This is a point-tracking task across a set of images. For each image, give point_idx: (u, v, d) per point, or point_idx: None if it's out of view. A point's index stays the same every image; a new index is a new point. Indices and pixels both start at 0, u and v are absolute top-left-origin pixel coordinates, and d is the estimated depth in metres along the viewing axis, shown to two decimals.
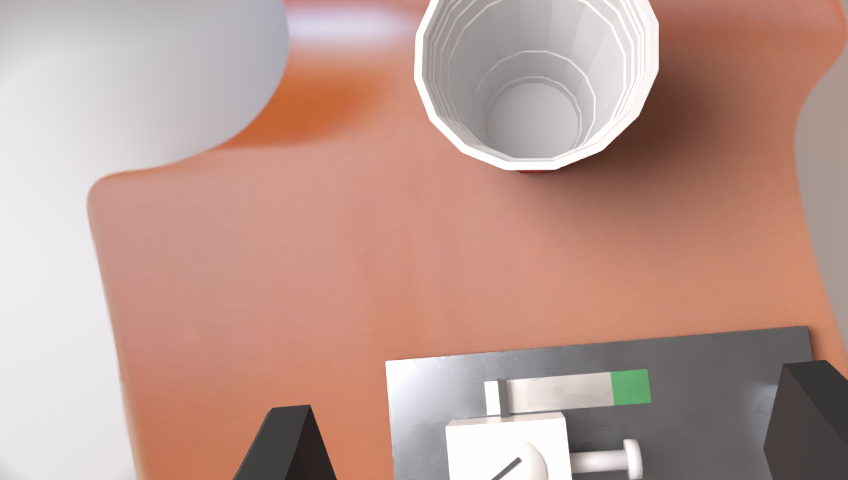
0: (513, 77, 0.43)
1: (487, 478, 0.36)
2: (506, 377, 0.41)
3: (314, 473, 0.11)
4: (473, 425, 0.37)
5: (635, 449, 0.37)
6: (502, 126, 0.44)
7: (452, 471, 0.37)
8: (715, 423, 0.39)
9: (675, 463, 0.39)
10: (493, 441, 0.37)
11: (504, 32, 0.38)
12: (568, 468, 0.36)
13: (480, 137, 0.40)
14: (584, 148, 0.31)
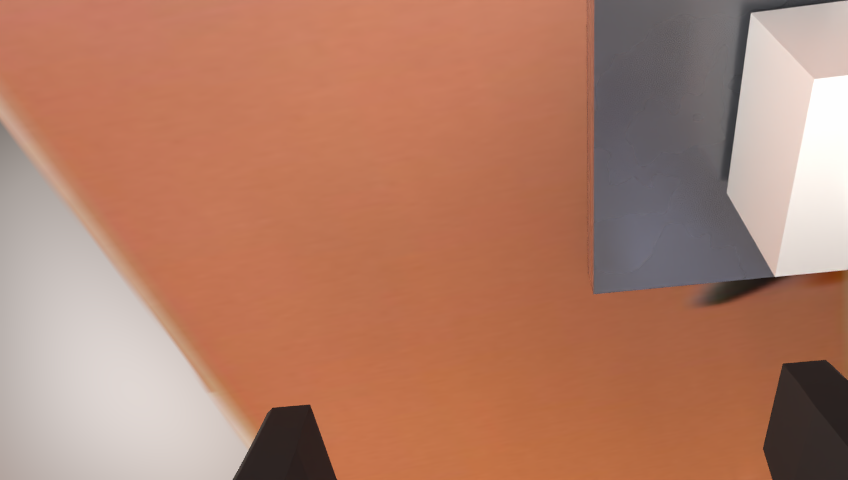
0: None
1: None
2: None
3: (314, 473, 0.11)
4: None
5: None
6: None
7: (802, 174, 0.15)
8: None
9: None
10: None
11: None
12: None
13: None
14: None
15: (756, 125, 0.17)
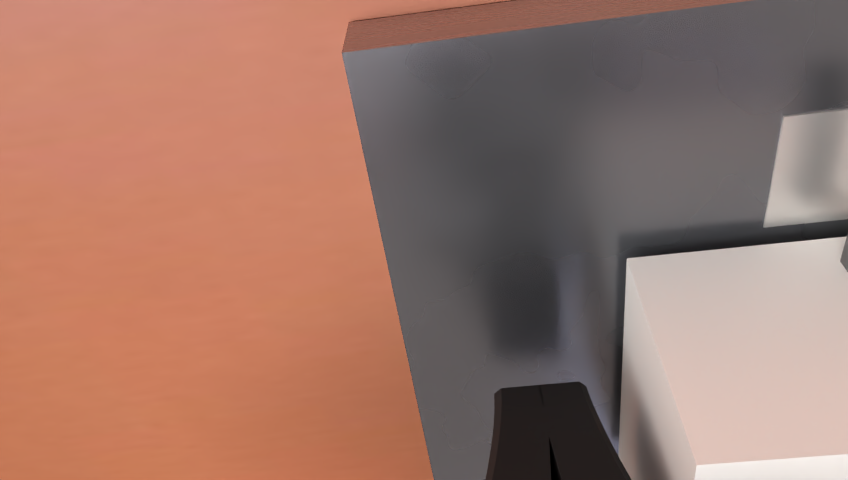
0: None
1: None
2: None
3: None
4: (829, 448, 0.08)
5: None
6: None
7: None
8: None
9: None
10: None
11: None
12: None
13: None
14: None
15: (639, 426, 0.11)
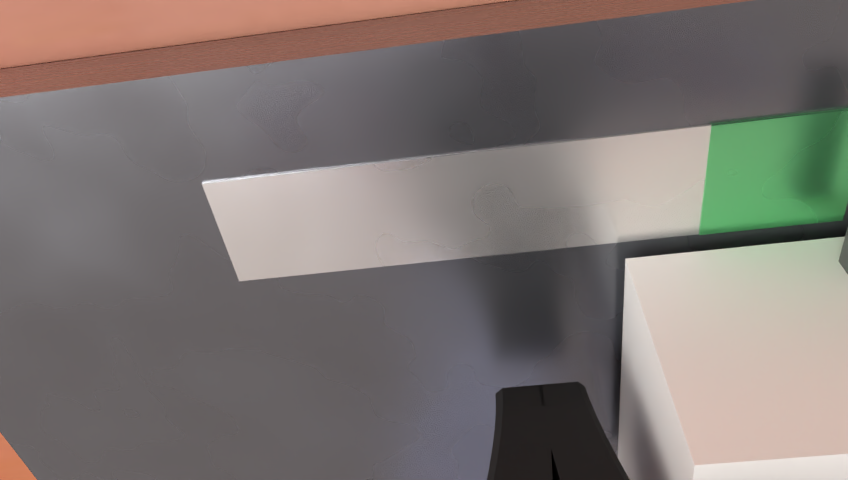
0: None
1: None
2: (286, 163, 0.10)
3: None
4: (827, 448, 0.08)
5: None
6: None
7: None
8: None
9: None
10: None
11: None
12: None
13: None
14: None
15: (639, 426, 0.11)
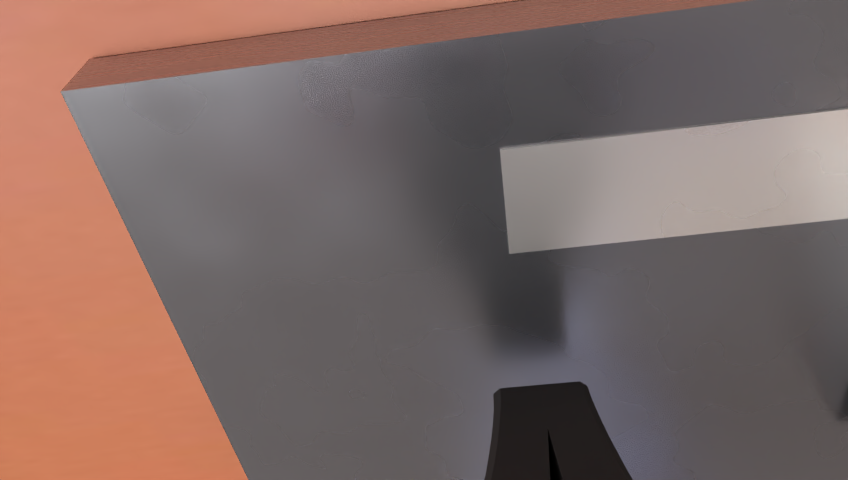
0: None
1: None
2: (593, 127, 0.10)
3: None
4: None
5: None
6: None
7: None
8: None
9: None
10: None
11: None
12: None
13: None
14: None
15: None
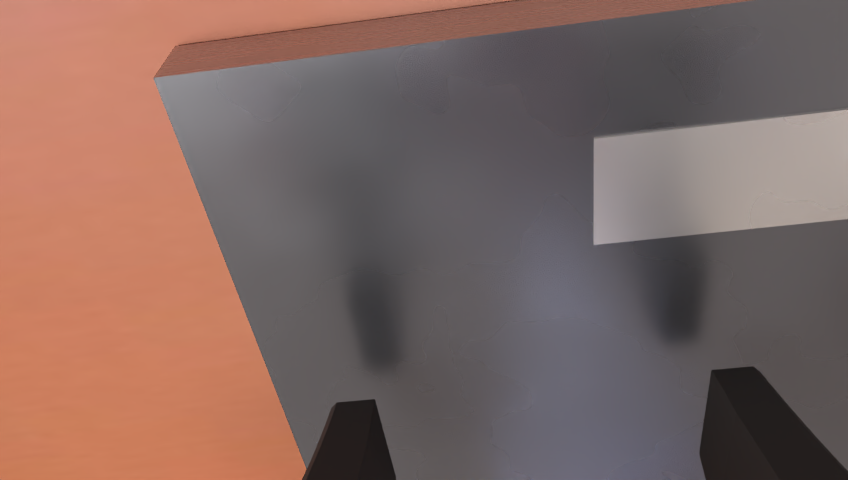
0: None
1: None
2: (690, 116, 0.10)
3: (380, 468, 0.11)
4: None
5: None
6: None
7: None
8: None
9: None
10: None
11: None
12: None
13: None
14: None
15: None
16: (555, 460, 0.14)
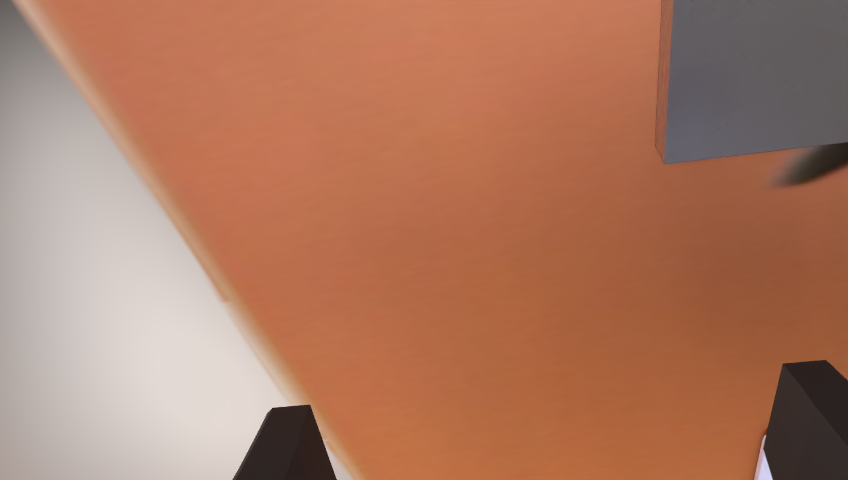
0: None
1: None
2: None
3: (314, 473, 0.11)
4: None
5: None
6: None
7: None
8: None
9: None
10: None
11: None
12: None
13: None
14: None
15: None
16: None
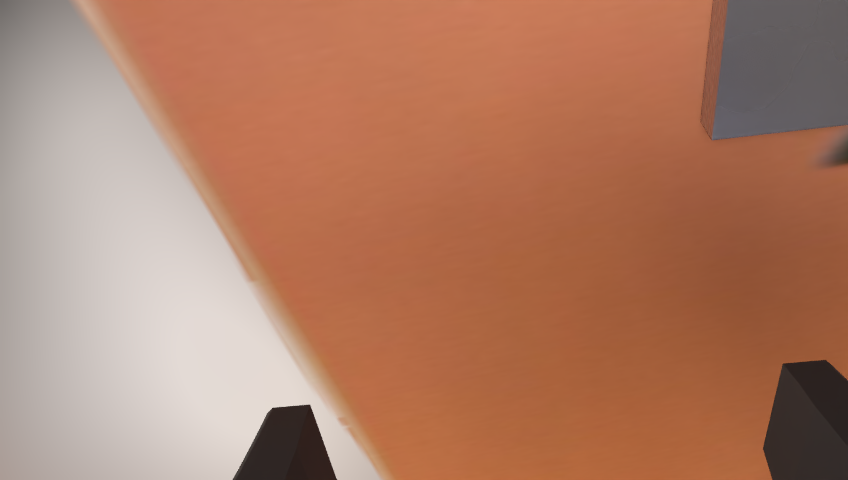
0: None
1: None
2: None
3: (314, 473, 0.11)
4: None
5: None
6: None
7: None
8: None
9: None
10: None
11: None
12: None
13: None
14: None
15: None
16: None
